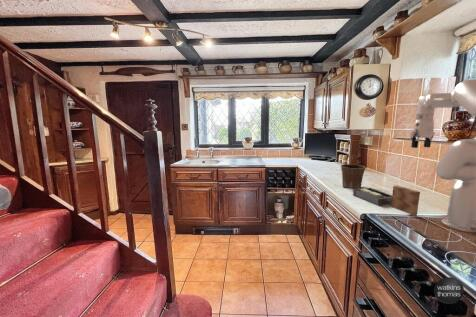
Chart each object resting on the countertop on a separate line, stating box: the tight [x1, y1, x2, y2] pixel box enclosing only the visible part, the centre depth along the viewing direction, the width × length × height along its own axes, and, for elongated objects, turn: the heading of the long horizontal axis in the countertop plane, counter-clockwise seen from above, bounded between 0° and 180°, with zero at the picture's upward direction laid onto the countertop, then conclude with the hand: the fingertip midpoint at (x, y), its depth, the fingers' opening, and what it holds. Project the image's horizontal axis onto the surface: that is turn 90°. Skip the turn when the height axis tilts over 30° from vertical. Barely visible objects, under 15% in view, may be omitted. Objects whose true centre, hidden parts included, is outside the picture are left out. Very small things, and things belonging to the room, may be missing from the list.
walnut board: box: [390, 185, 421, 218], centre depth 119 cm, size 12×3×13 cm, turn 15°
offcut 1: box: [359, 188, 372, 194], centre depth 139 cm, size 6×4×5 cm, turn 15°
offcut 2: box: [369, 192, 382, 198], centre depth 133 cm, size 6×4×5 cm, turn 16°
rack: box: [352, 187, 392, 207], centre depth 136 cm, size 18×14×5 cm
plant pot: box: [340, 163, 366, 190], centre depth 163 cm, size 16×16×16 cm
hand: (420, 147), depth 130 cm, fingers open, 9 cm apart
